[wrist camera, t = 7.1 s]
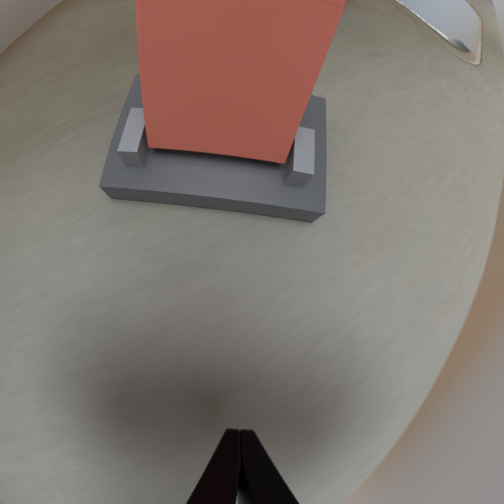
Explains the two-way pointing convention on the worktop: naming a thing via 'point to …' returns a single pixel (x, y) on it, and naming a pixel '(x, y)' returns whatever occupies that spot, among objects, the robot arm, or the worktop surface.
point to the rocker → (230, 72)
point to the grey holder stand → (219, 170)
